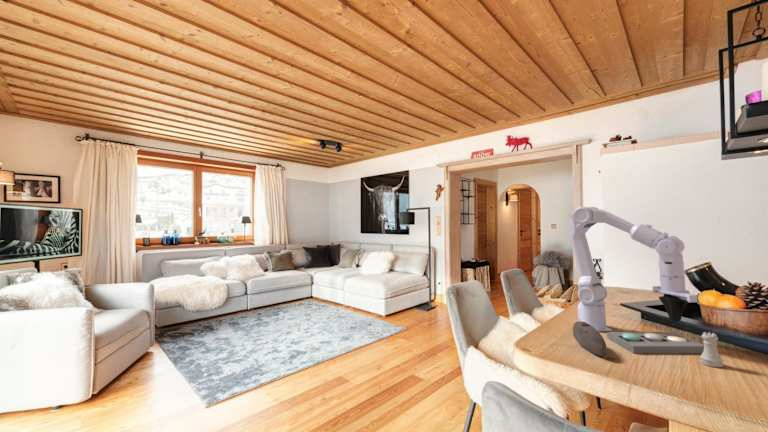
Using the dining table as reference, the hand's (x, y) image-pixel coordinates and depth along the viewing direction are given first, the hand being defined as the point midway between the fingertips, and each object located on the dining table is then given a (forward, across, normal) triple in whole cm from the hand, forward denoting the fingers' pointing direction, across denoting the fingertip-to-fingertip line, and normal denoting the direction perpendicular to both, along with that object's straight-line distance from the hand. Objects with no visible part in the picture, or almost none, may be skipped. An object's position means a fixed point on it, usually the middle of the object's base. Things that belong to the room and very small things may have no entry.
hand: (675, 320), depth 99 cm
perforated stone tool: (+8, -4, +27) cm, 28 cm away
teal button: (+6, 0, +13) cm, 14 cm away
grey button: (+6, 0, +7) cm, 9 cm away
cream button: (+7, 0, 0) cm, 7 cm away
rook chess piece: (+8, -14, +2) cm, 16 cm away
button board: (+7, 0, +6) cm, 10 cm away
